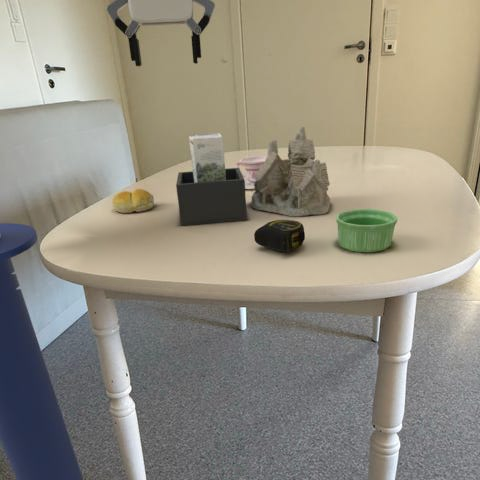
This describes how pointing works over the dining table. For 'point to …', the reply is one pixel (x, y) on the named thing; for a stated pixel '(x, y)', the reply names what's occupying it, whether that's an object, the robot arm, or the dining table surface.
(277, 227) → the tape measure
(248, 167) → the pink white round vessel
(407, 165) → the dining table surface
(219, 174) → the syrup box
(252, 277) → the dining table surface
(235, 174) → the bin
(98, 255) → the dining table surface
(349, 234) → the ramekin
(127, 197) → the bread roll
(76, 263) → the dining table surface
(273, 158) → the ceramic cottage
